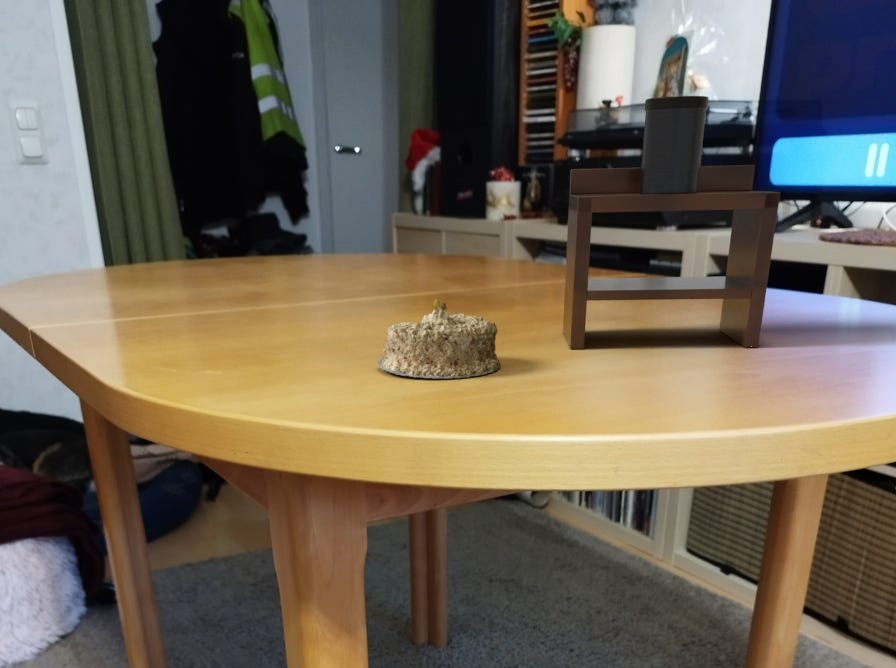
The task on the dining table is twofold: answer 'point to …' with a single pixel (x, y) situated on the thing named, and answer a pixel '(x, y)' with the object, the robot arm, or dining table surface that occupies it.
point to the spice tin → (672, 144)
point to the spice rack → (737, 289)
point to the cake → (441, 346)
